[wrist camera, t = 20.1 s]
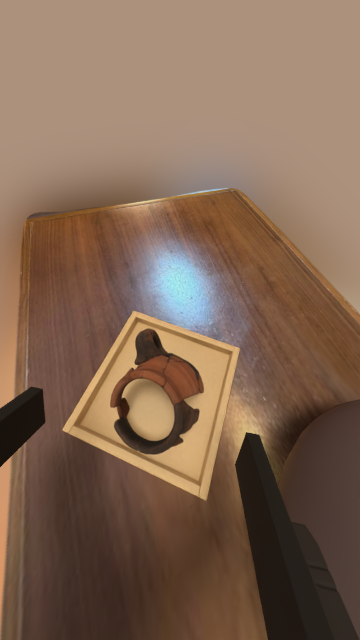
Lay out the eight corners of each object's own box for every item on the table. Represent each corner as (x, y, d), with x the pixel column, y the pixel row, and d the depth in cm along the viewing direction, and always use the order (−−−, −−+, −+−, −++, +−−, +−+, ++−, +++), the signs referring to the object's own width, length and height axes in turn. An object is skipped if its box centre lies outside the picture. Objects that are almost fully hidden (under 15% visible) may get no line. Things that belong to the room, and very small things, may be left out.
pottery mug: (220, 408, 21) (212, 452, 13) (155, 428, 24) (115, 477, 16) (182, 318, 24) (157, 311, 16) (126, 345, 26) (78, 351, 18)
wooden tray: (73, 428, 20) (61, 430, 18) (136, 318, 27) (133, 310, 25) (202, 490, 18) (206, 501, 16) (234, 354, 25) (240, 348, 23)
